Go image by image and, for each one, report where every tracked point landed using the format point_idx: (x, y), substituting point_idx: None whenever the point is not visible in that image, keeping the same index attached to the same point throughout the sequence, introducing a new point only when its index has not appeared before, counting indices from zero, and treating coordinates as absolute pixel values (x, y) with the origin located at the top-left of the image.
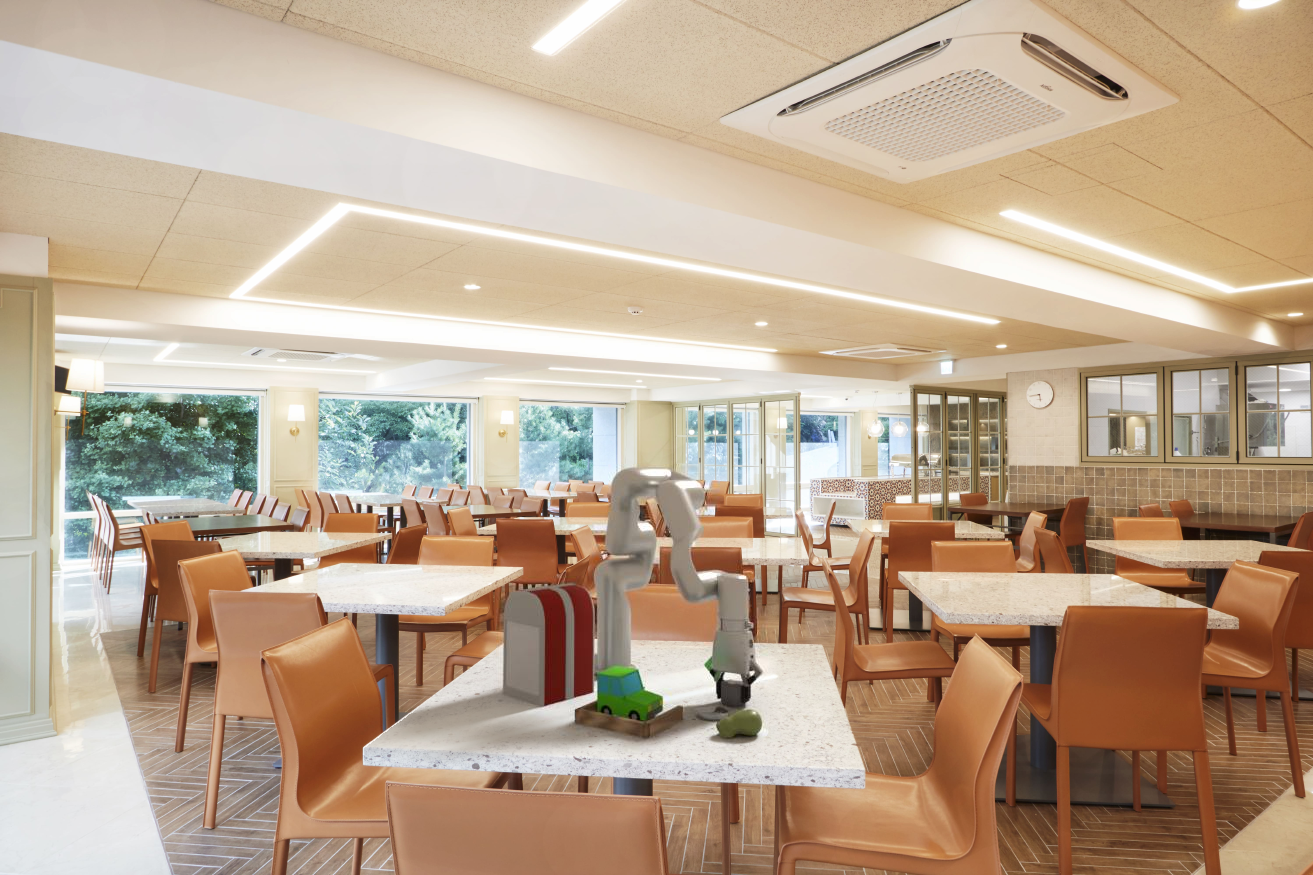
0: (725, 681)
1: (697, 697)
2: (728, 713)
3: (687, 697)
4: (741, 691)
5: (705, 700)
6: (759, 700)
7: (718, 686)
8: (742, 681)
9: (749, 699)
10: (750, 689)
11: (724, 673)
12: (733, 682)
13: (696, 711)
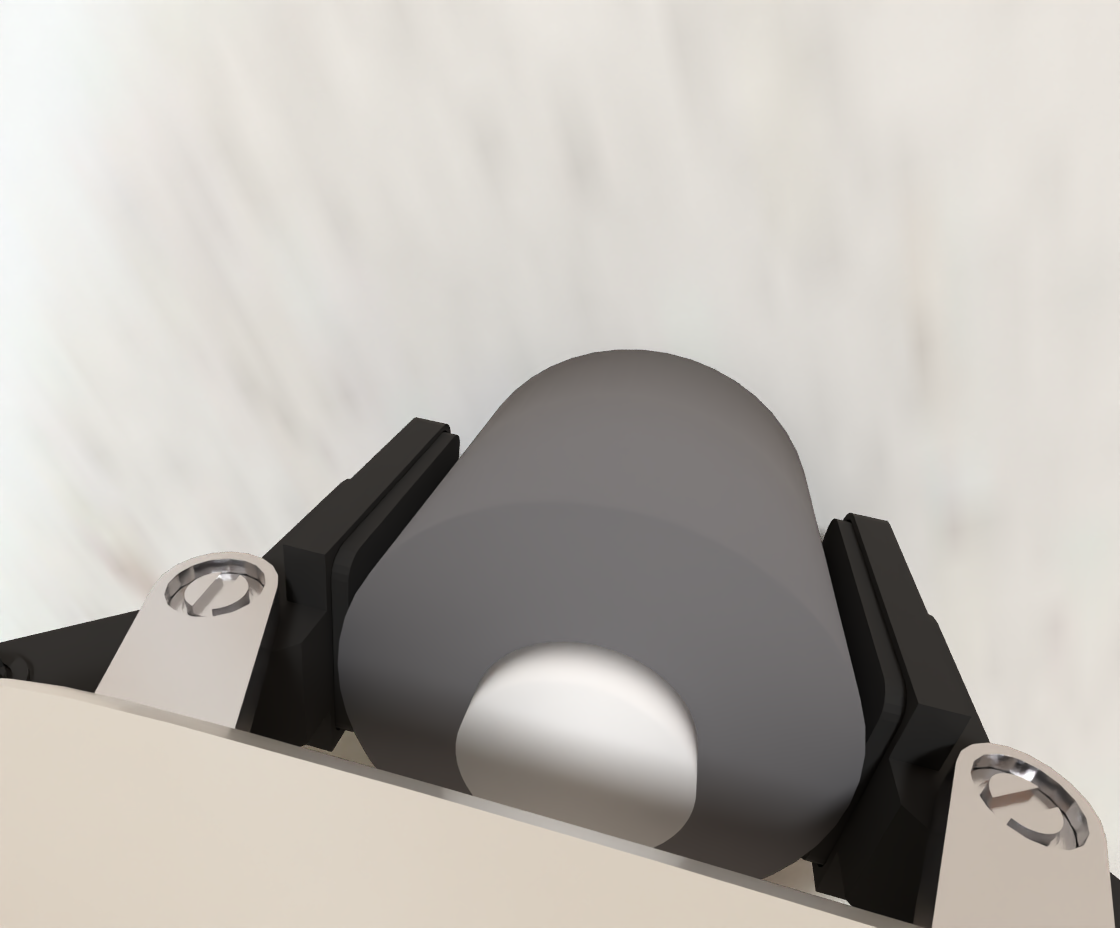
0: (395, 655)
1: (137, 403)
2: None
3: (58, 441)
4: None
5: (276, 485)
6: (1036, 201)
7: None
8: (752, 576)
9: (885, 527)
10: (969, 726)
11: (252, 711)
12: None
13: None
